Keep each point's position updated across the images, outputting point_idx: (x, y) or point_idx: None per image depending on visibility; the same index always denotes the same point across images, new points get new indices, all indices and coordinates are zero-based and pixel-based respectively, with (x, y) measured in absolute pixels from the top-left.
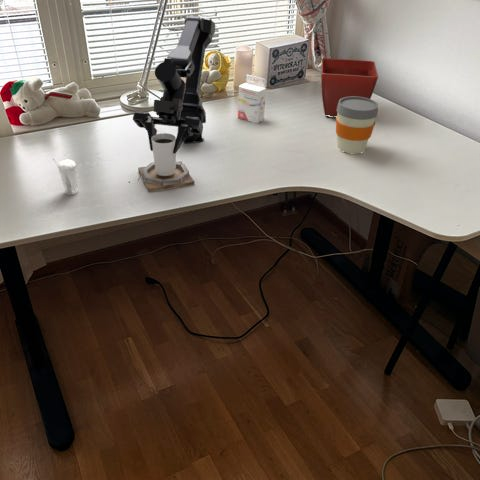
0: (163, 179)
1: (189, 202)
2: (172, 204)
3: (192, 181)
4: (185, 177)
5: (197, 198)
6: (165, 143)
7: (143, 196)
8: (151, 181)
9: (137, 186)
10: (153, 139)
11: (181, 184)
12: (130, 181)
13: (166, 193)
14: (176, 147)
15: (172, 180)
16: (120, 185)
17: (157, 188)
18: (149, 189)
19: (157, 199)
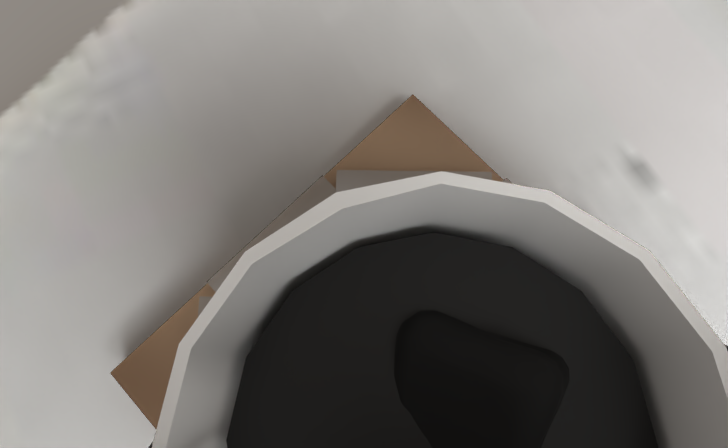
0: None
1: (62, 111)
2: (165, 37)
3: (125, 366)
4: None
5: (26, 185)
6: (276, 237)
7: (411, 39)
8: None
9: (540, 142)
10: (694, 424)
11: (203, 289)
12: (641, 186)
13: (276, 148)
14: None
15: (256, 238)
16: (670, 98)
17: (358, 149)
18: (405, 102)
19: (296, 47)
